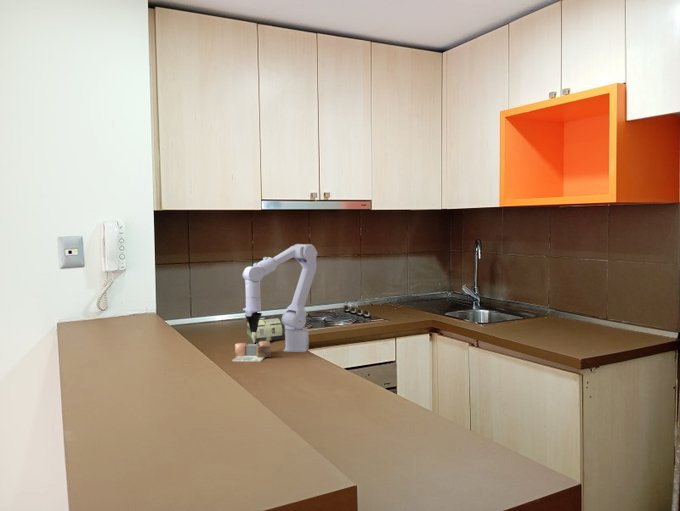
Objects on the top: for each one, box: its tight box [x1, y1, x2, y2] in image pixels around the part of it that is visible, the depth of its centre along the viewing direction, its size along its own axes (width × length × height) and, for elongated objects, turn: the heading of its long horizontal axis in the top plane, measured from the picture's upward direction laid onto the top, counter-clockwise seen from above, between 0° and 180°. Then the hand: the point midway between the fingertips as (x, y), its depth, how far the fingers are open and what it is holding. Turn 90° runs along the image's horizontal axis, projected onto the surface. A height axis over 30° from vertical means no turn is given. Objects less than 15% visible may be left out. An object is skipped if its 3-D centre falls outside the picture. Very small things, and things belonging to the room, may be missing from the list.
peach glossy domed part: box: [234, 342, 247, 357], centre depth 213 cm, size 4×4×4 cm
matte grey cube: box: [246, 343, 259, 356], centre depth 214 cm, size 4×4×4 cm
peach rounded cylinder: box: [258, 341, 271, 346], centre depth 216 cm, size 4×4×4 cm
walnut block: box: [256, 344, 272, 358], centre depth 211 cm, size 5×3×4 cm, turn 113°
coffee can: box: [246, 317, 285, 344], centre depth 239 cm, size 10×10×14 cm
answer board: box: [231, 356, 266, 363], centre depth 212 cm, size 11×14×1 cm
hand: (253, 331), depth 212 cm, fingers closed
